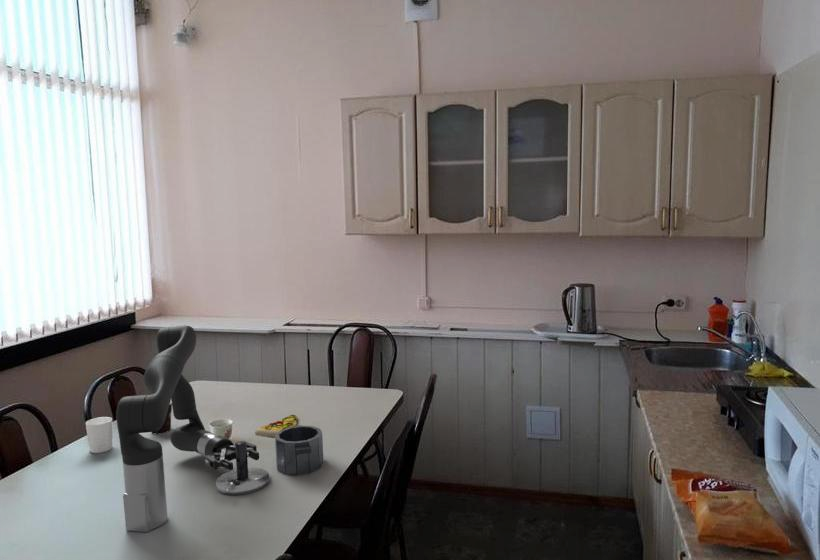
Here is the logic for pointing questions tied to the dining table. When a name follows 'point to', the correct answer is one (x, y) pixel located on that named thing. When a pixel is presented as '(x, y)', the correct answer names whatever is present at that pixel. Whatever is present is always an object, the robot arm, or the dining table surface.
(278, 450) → the pot
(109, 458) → the dining table surface
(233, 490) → the lid
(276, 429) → the pizza slice
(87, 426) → the white cup
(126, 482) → the robot arm
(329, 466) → the dining table surface
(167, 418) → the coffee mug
